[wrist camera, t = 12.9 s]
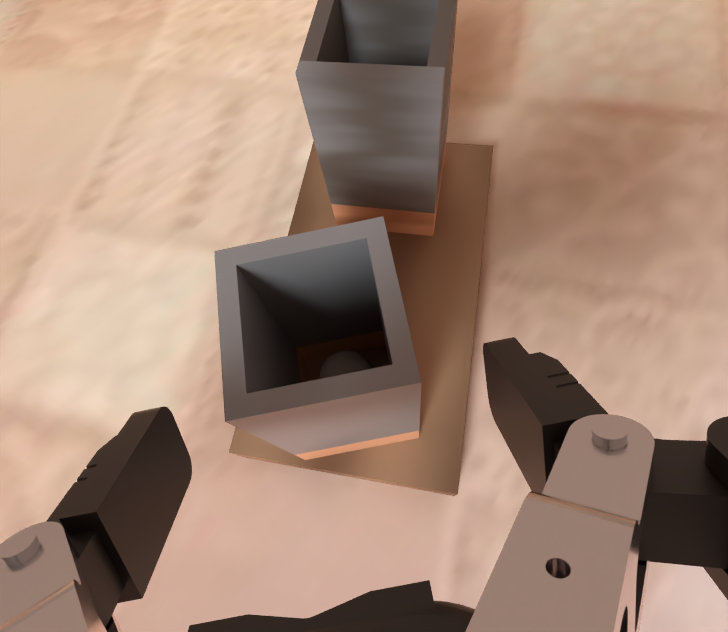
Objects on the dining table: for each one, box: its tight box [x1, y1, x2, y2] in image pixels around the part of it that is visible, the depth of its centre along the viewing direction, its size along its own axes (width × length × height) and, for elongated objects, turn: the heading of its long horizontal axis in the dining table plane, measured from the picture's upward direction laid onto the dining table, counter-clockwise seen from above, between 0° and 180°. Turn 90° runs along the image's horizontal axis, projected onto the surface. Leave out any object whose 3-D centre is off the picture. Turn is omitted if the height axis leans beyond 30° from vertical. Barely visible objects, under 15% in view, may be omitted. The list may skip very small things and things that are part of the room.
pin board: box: [229, 0, 493, 496], centre depth 20 cm, size 10×18×12 cm, turn 170°
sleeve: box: [215, 216, 421, 460], centre depth 17 cm, size 5×5×10 cm
